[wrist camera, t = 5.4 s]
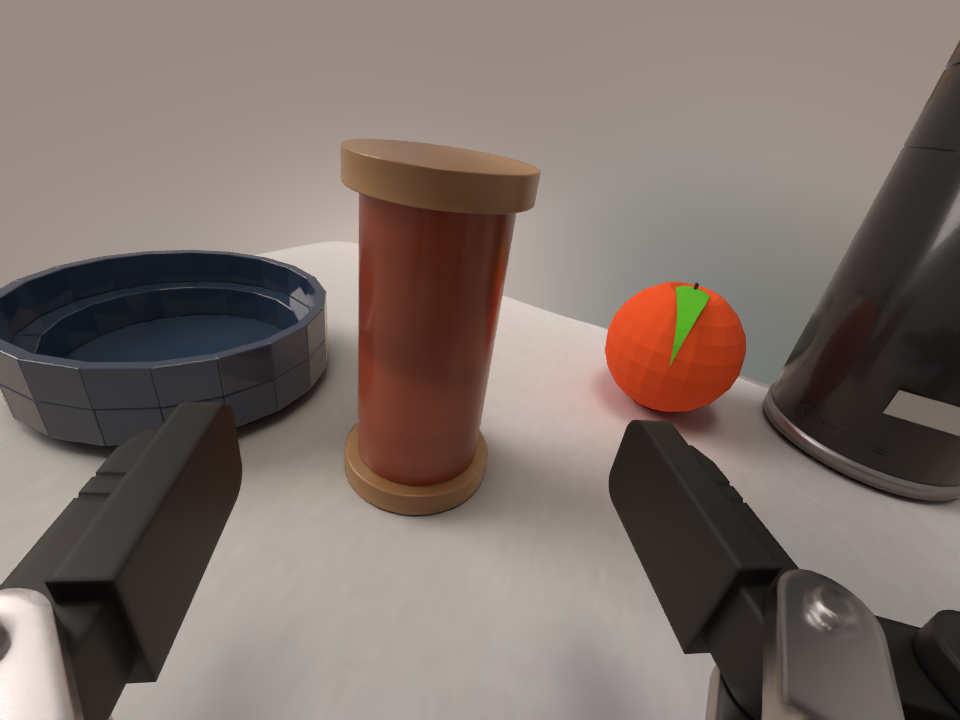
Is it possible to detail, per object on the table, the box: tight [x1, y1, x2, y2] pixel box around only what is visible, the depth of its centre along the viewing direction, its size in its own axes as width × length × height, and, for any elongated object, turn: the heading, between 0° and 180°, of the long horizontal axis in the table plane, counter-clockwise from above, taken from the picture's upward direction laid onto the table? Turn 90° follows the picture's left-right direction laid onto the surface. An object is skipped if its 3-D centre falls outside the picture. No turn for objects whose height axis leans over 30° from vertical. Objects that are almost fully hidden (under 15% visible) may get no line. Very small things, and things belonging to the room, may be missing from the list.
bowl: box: [0, 250, 328, 446], centre depth 22 cm, size 13×13×4 cm
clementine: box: [605, 282, 746, 412], centre depth 24 cm, size 8×7×7 cm
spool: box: [341, 139, 540, 515], centre depth 16 cm, size 6×6×12 cm
